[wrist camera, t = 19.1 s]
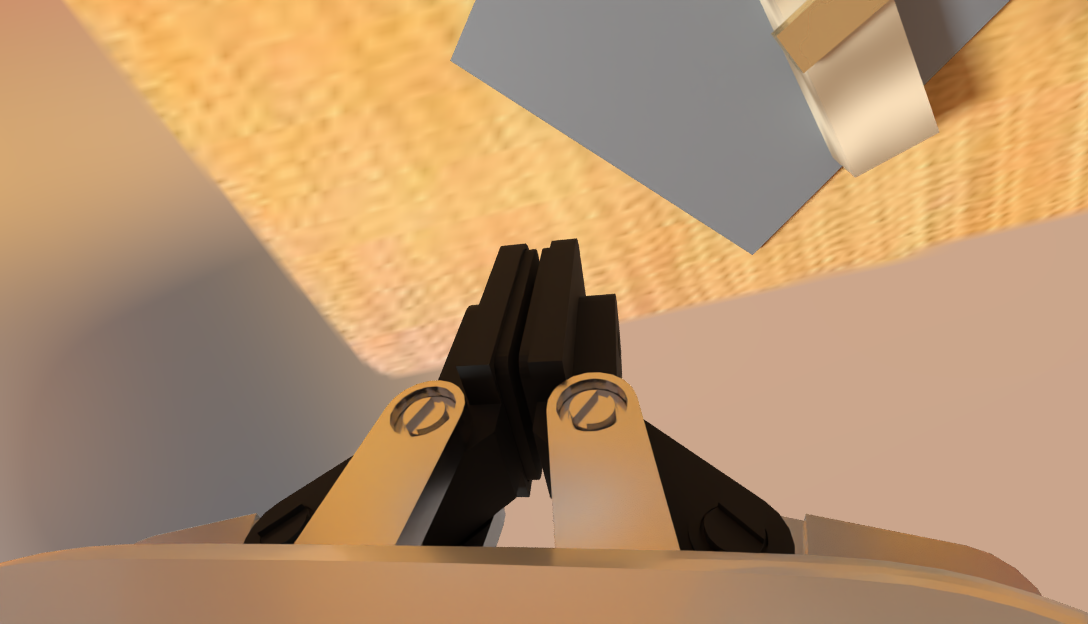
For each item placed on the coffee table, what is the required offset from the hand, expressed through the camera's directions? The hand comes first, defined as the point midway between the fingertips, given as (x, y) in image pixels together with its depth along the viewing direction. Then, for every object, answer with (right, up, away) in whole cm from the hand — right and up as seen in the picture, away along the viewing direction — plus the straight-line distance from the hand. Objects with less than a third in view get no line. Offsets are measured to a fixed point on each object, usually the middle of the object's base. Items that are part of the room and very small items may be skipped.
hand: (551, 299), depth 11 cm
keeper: (+15, +17, +16) cm, 28 cm away
